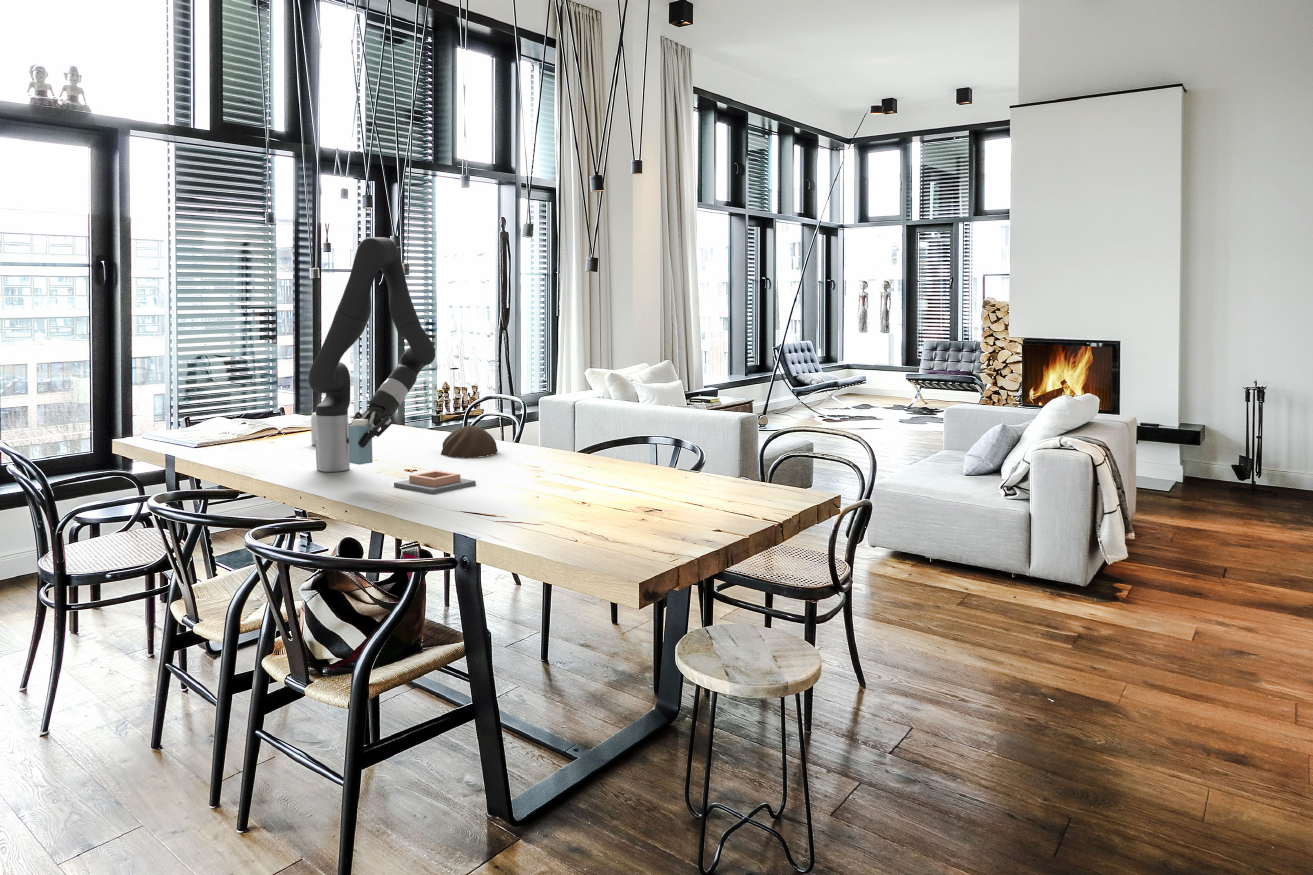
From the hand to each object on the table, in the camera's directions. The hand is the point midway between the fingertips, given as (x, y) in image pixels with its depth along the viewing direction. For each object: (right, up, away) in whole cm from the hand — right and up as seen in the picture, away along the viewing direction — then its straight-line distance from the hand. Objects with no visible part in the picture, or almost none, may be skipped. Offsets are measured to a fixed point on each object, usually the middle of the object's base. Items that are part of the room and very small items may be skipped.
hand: (354, 444), depth 247 cm
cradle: (+20, -12, +8) cm, 25 cm away
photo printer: (-37, -1, +80) cm, 88 cm away
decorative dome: (+18, -4, +65) cm, 68 cm away
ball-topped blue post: (+1, -5, +2) cm, 6 cm away
